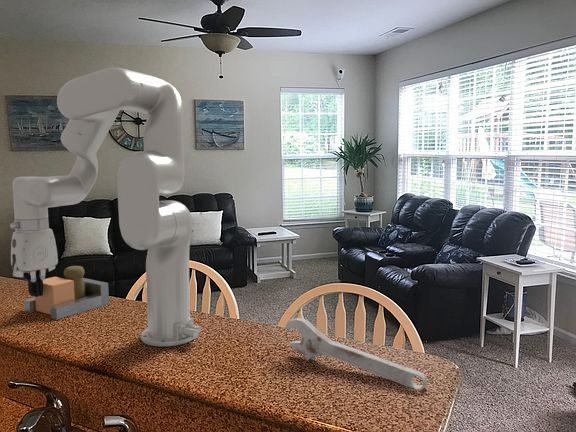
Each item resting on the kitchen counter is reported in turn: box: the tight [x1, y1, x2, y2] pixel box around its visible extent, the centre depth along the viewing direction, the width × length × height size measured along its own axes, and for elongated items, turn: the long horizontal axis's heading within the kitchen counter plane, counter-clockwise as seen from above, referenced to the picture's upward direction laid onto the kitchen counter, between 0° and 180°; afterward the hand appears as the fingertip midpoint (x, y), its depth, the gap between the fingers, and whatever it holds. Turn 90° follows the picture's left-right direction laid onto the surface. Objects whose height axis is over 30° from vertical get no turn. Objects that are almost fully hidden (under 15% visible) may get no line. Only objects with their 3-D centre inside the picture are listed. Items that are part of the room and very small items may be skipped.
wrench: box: [284, 317, 428, 391], centre depth 94 cm, size 8×2×30 cm
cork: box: [63, 265, 86, 300], centre depth 133 cm, size 6×6×11 cm
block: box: [35, 276, 75, 316], centre depth 128 cm, size 8×6×8 cm
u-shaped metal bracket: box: [23, 277, 110, 321], centre depth 131 cm, size 14×16×6 cm
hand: (36, 295), depth 123 cm, fingers closed
